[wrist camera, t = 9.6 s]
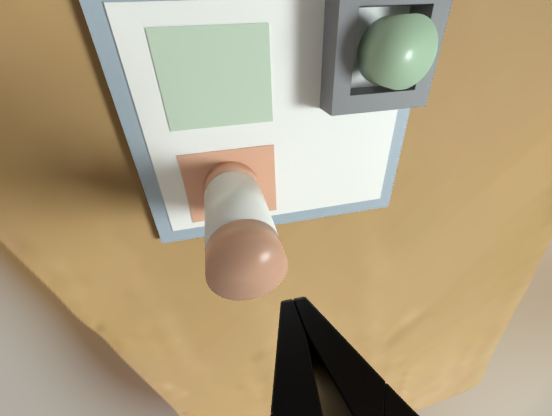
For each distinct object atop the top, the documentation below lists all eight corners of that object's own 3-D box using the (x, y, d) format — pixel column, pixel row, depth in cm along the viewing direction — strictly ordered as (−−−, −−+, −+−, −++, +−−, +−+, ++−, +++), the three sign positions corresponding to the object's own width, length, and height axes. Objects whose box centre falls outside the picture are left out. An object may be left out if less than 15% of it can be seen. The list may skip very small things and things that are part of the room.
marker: (255, 158, 18) (287, 233, 11) (259, 204, 20) (288, 291, 13) (199, 165, 17) (198, 248, 11) (208, 212, 19) (213, 307, 13)
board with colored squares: (433, -28, 15) (471, -37, 13) (384, 202, 24) (402, 220, 21) (75, -24, 12) (49, -35, 10) (163, 238, 21) (158, 262, 18)
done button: (418, 14, 14) (446, 12, 13) (404, 81, 16) (427, 87, 14) (361, 16, 14) (382, 14, 12) (353, 85, 16) (371, 92, 14)
